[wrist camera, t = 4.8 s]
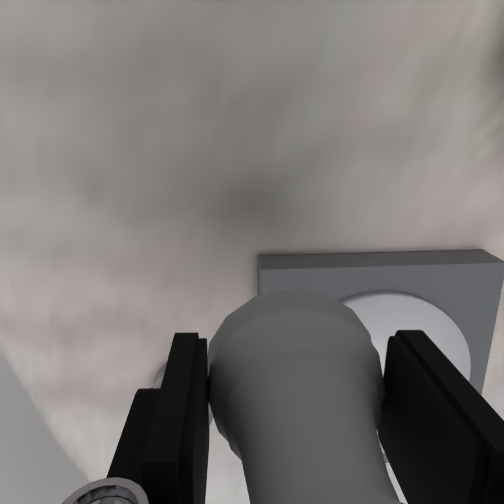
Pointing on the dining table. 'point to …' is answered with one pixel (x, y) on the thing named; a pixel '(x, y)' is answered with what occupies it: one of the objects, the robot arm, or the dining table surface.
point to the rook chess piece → (300, 400)
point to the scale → (406, 296)
